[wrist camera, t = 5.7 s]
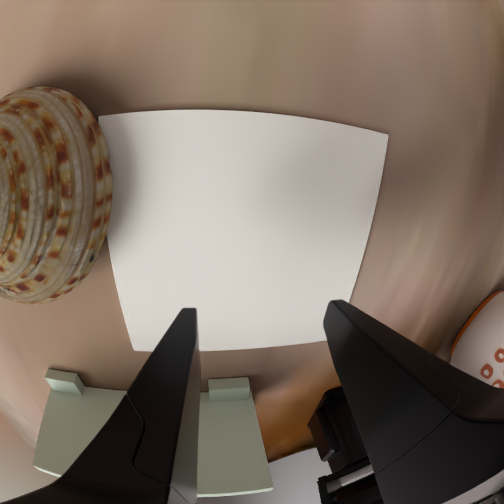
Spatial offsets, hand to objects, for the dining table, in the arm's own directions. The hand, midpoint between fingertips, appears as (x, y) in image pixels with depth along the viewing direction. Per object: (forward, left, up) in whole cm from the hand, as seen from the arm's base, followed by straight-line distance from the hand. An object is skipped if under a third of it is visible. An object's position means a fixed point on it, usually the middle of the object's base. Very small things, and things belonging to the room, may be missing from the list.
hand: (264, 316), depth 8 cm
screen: (+6, +10, -4) cm, 13 cm away
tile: (0, 0, -4) cm, 4 cm away
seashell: (+11, 0, -4) cm, 12 cm away
